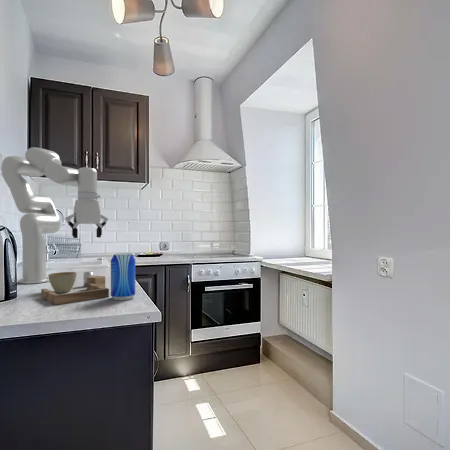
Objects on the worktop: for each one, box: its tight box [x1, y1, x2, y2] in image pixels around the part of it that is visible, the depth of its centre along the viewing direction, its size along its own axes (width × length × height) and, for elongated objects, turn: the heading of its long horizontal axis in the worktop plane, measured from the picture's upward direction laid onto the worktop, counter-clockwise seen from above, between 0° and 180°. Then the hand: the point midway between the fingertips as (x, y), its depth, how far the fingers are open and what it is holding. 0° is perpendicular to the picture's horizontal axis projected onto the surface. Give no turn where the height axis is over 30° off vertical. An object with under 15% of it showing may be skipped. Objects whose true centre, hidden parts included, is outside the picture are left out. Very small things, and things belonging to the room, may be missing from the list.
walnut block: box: [86, 275, 106, 290], centre depth 136 cm, size 5×5×5 cm
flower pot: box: [47, 271, 78, 294], centre depth 130 cm, size 10×10×7 cm
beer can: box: [110, 252, 136, 301], centre depth 118 cm, size 8×8×16 cm
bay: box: [40, 283, 110, 306], centre depth 120 cm, size 16×18×3 cm
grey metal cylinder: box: [83, 271, 95, 288], centre depth 141 cm, size 4×4×6 cm
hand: (87, 237), depth 140 cm, fingers open, 9 cm apart
